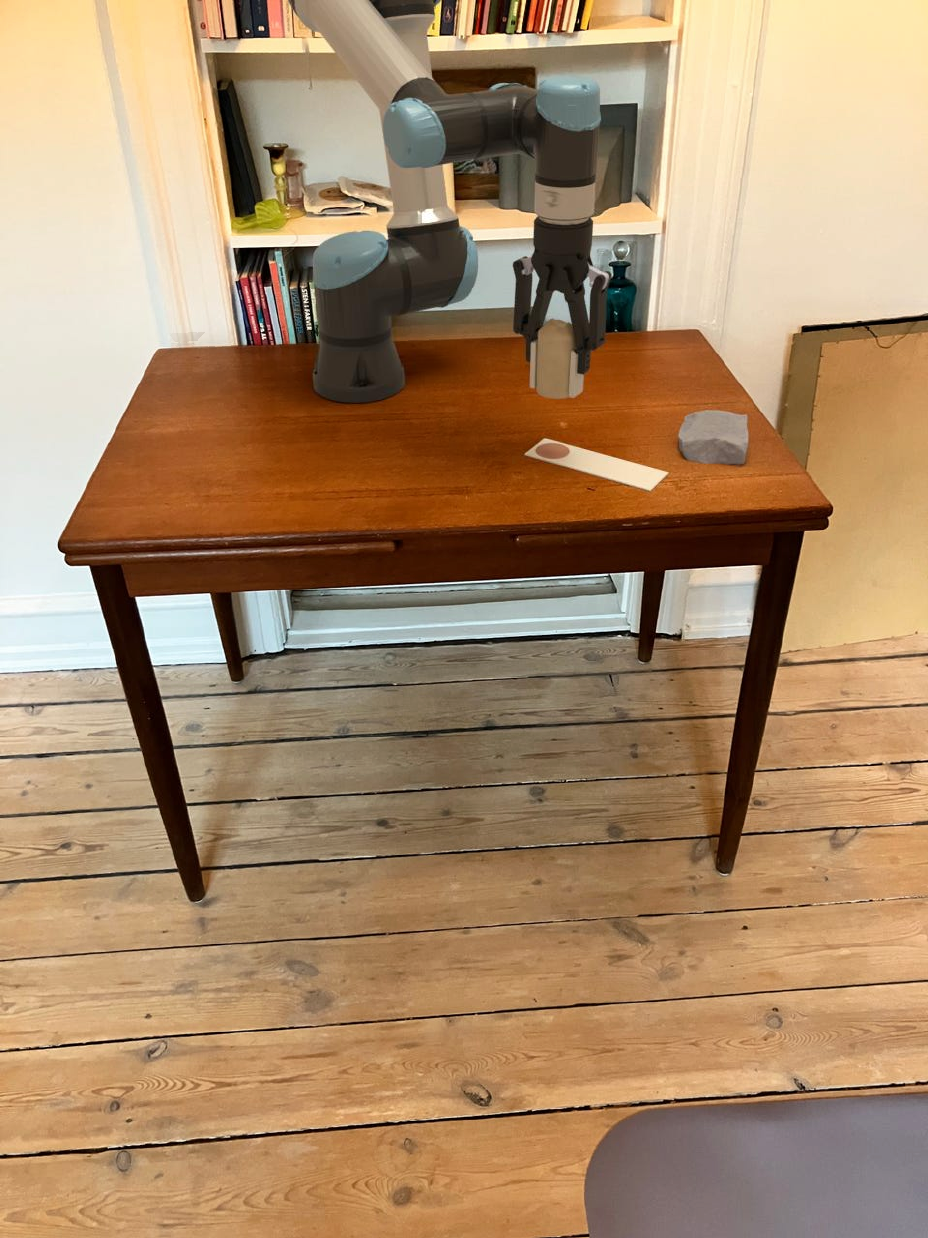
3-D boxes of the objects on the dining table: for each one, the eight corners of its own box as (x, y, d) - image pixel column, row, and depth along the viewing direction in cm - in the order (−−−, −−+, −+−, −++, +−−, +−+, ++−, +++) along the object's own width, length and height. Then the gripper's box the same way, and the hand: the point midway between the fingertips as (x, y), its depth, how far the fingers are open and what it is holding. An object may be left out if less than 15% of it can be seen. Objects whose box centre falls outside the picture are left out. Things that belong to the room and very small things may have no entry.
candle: (582, 388, 141) (586, 318, 135) (564, 402, 137) (567, 331, 131) (548, 380, 143) (550, 311, 137) (529, 394, 139) (531, 323, 133)
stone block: (679, 473, 144) (751, 467, 142) (676, 443, 142) (749, 435, 139) (680, 439, 154) (748, 432, 151) (678, 410, 151) (746, 402, 149)
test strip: (524, 455, 145) (524, 453, 145) (544, 439, 149) (544, 437, 149) (650, 491, 136) (650, 490, 136) (668, 473, 140) (668, 472, 140)
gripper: (485, 213, 128) (485, 384, 142) (616, 234, 119) (603, 413, 133) (516, 200, 133) (513, 366, 147) (643, 219, 124) (627, 394, 138)
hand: (556, 388), depth 140 cm, fingers closed on candle, 5 cm apart
